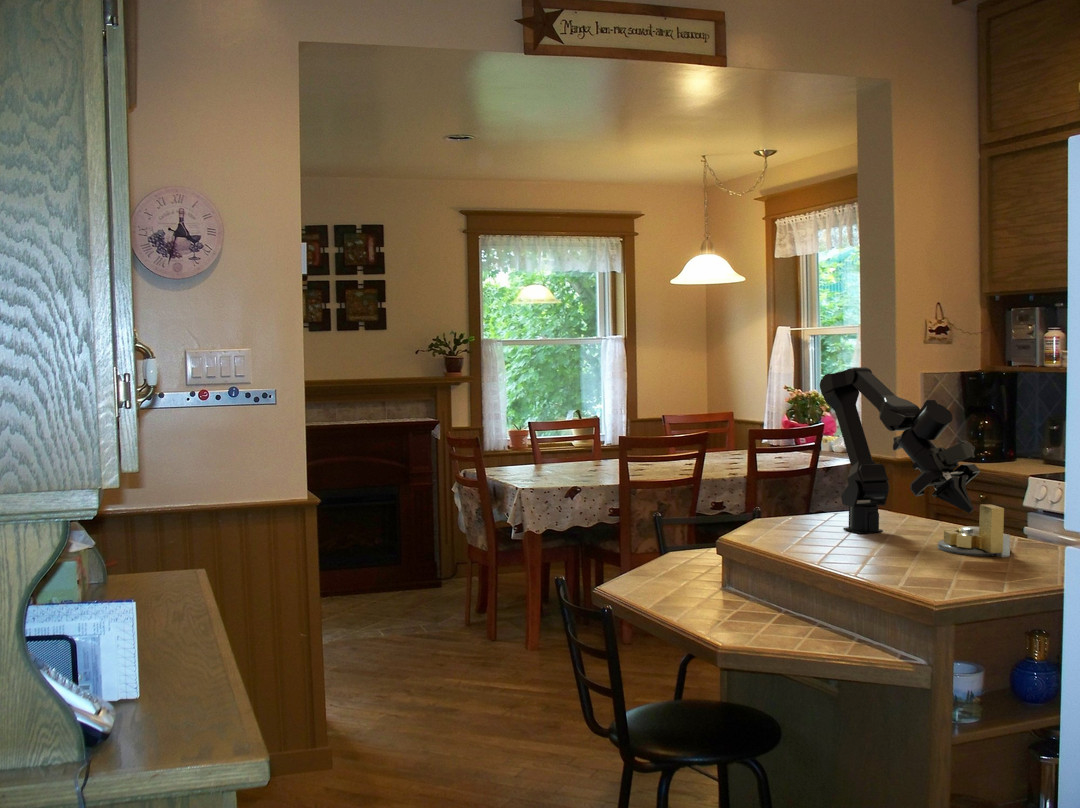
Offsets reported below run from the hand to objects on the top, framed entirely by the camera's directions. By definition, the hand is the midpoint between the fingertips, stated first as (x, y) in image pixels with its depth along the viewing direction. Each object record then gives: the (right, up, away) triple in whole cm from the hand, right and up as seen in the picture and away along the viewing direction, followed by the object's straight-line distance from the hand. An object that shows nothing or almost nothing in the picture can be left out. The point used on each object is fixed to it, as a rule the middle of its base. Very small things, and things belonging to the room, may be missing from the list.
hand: (971, 511), depth 211 cm
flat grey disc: (+3, -9, +6) cm, 11 cm away
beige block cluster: (+3, -7, +3) cm, 9 cm away
